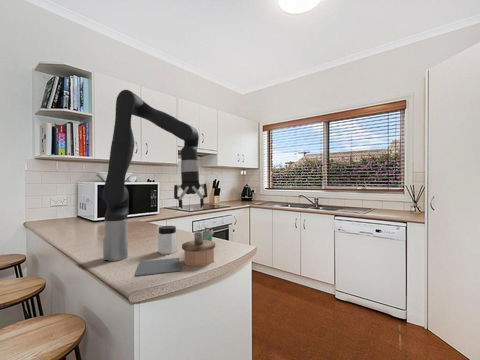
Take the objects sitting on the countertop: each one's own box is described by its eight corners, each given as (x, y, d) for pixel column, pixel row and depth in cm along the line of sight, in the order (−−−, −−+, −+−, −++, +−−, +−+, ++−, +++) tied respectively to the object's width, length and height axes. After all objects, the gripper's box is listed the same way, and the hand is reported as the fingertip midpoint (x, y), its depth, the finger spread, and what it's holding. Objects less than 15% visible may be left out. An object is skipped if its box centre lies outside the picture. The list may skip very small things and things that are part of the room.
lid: (182, 252, 94) (182, 237, 94) (181, 244, 107) (181, 230, 108) (218, 249, 98) (217, 234, 98) (212, 241, 111) (212, 228, 112)
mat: (135, 276, 86) (135, 275, 86) (140, 262, 102) (140, 261, 102) (180, 271, 91) (180, 270, 91) (179, 258, 106) (179, 257, 106)
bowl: (185, 267, 95) (185, 251, 95) (183, 258, 107) (183, 244, 107) (215, 263, 99) (215, 249, 99) (210, 255, 110) (210, 242, 110)
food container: (209, 253, 113) (208, 232, 113) (196, 253, 114) (196, 232, 114) (216, 246, 125) (216, 227, 125) (205, 246, 126) (205, 227, 126)
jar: (156, 254, 112) (156, 229, 112) (158, 250, 120) (158, 226, 120) (176, 253, 114) (176, 228, 114) (177, 248, 122) (177, 225, 122)
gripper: (171, 171, 100) (173, 210, 100) (206, 170, 102) (208, 208, 102) (174, 172, 108) (175, 208, 108) (206, 170, 110) (207, 206, 110)
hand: (191, 208), depth 105 cm, fingers open, 8 cm apart
